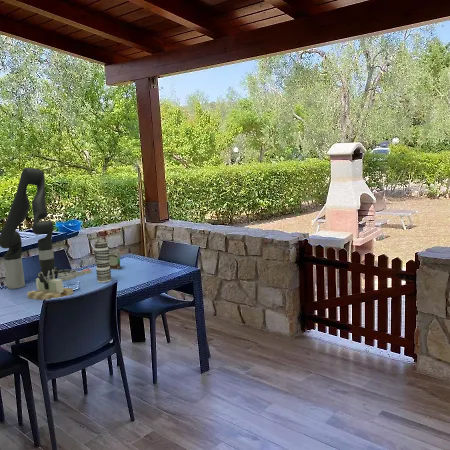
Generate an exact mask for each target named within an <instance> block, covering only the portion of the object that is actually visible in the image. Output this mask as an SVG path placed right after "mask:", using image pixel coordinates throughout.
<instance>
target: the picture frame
mask: <svg viewBox="0 0 450 450" xmlns="http://www.w3.org/2000/svg"><path fill="white" fill-rule="evenodd" d="M45 281H46V279H45ZM35 283H36V291H42V292H51V293H62V292H63V288H64V284H63V283H64V282H63V281H62V279H59V278H56V279H52V278H50V277H49V279H48V285H49V289H48V290H46V289H45V288H44V283H41V282H40V280H39V278H38V277H37V278H35Z"/></svg>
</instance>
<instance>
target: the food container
mask: <svg viewBox="0 0 450 450" xmlns="http://www.w3.org/2000/svg"><path fill="white" fill-rule="evenodd" d="M109 253H110V254H108V256H110V257H109V258H110V261H109V265H110V269H111V270H115V271H117V270H120V269H121V258H122V255H121V253H120V252H109Z"/></svg>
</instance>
